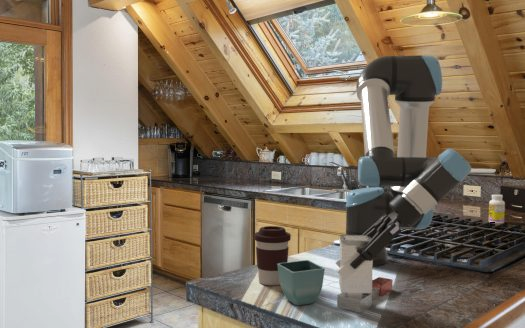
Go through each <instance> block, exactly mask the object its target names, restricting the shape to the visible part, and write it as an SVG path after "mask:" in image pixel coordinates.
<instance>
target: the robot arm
mask: <svg viewBox="0 0 525 328" xmlns="http://www.w3.org/2000/svg"><path fill="white" fill-rule="evenodd" d="M355 87H356V88H355V89H356V90H355V91H356V97H357V98H358V100H359V101H360V106H361V107H360V108H361V119H362V120H361V121H362V122H361V123H362V134H363V135H362V136H363V146H364V147H363V148H364V156H360V157H359V159H358V160H357V161H358V162H357V180H358V183H359V185H360V186H365V187H362V188H357V189H352V190H350V191H349V192H348V193H347V195H346V202H345V203H346V204H345V209H346V212H345V214H346V215H345V216H346V219H345V235H366V236H370V237H371V240H370V242H369V243H367V244H366V245H365V246H364V248H363V249H362V250H360V249H357V253H356V254H355V255H354V256H353V257H351V258H350V259H349V260H348V261H347V262H346V263H345V264H344V265H343V266H342V267H341V268H340V257H339V258H338V259H337V260H336V261H335V262H334V263H335V264H336V265H337V267H338V268H339V269H337V271H336V272H337V273H338V275H339V274H340V275H341V276H342V277H343V278H344V279H345V280H346V279H347V278H349V277H350V276H351V275H352V274H353V273H354V272H355V271H356V270H357V269H358V268H359V267H360V266H361V265H363V264H364V263H365V262H366V261H368V260H369V261H371V260H372V259H373V266H382V265H385V264H387V263H388V257H389V255H388V252H387V249H386V246H388V245H389V244H390V242H391V241H392V240H393V239H395V238H396V237H397V236H398V235H399V234H401V233H402V230H412V231H414V230H425V229H427V228H428V227H429V226H430V224H431V223H432V219H433V216H434V212H435V210H436V207H435V206H436V205H437V204H439V202H440V201H442V199H444V198H445V197H446V196H447V195H448V194H449V193H450V192H452V190H454V189H455V188H456V187H457V186H458V185H459V184H460V183H462V182H463V181H464V180H465V179H466V178H467V176H468V175H469V174H471V172H472V166H471V165H470V163H469V162H468V161H467V160H466V159H465V158H464V157H463V156H462V155H461V154H460V153H459V152H458V151H456V150H455V149H453V148H446V149H445V150H444V151H442V152H441V153H440V154H439V155H438V157H437V156H427V148H428V147H427V146H428V145H427V144H428V142H427V141H428V127H429V114H430V106H432V104H434V102H436V101H435V99H436V96H438V95H441V93H442V88H443V75H442V67H441V64H440V62H439V60H438V58H437V57H435V56H432V55H422V54H420V55H419V54H418V55H383V56H380V57H377V58H375V59H373V60H372V61H370V62H369V63H368V64H367V65H366V66H365V67H364V68H363V69H362V71H361V72H360V74H359V76H358V78H357V82H356V86H355ZM389 96H394V102H396V104H397V105H398V106H399V114H398V116H399V117H398V135H397V137H398V138H397V152H396V153H397V155H395V154H396V153H395V146H394V141H393V137H394V136H393V131H392V123H391V115H390V108H389V99H388V97H389ZM385 187H388V188H389V187H390V191H388V192H386V191H385V190H384V188H385ZM373 266H372V267H373Z"/></svg>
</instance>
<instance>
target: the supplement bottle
mask: <svg viewBox="0 0 525 328" xmlns="http://www.w3.org/2000/svg"><path fill="white" fill-rule="evenodd" d="M503 197H504V196H503V194H491V200H489V202H488V222H489V223H490V222H495V223H494V224H495V225H496V224H499V225H501V224H502V225H503V224H504V223H505V211H506V202H505V201H504V200H503Z"/></svg>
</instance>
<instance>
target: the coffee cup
mask: <svg viewBox="0 0 525 328" xmlns="http://www.w3.org/2000/svg"><path fill="white" fill-rule="evenodd" d="M291 235H292V234H291V233H290V232H287V231H286V228H285V227H282V226H277V225H275V226H274V225H270V226H269V225H267V226H262V227H260V228H259V230H258V231H257V232H254V235H253V238H254V241H256V246H255V253H256V254H255V255H256V267H257V271H258V272H257V273H258V282H259V283H260V284H262V285H264V286H281V285H280V281H279V274H278V265H277V264H278V263H286V262H289V261H288V260H289V259H288V258H289V242H290V241H291V238H292V237H291Z"/></svg>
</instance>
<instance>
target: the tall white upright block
mask: <svg viewBox="0 0 525 328" xmlns="http://www.w3.org/2000/svg"><path fill="white" fill-rule="evenodd" d="M370 240H371V237H370V236H366V235H346V234H339V258H340V268H341V267H342V266H343V265H344V264H345V263H346V262H347V261H348V260H349V259H350V258H351V257H353V256H354V255H355V254H356V253H357V249H360V250H362V249H363V248H364V246H365V245H366V244H367V243H369V242H370ZM340 268H339V269H340ZM338 275H339V279H338V280H339V281H338V285H339V289H340V293H342V292H346V293H372V280H373V259H372V260H371V261H369V260H368V261H366V262H365V263H364V264H363V265H361V266H360V267H359V268H358V269H357V270H356V271H355V272H354V273H353V274H352V275H351V276H350V277H349V278H347V279H346V280H345V279H344V278H343V277H342V276H341V275H340V274H339V273H338Z"/></svg>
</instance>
